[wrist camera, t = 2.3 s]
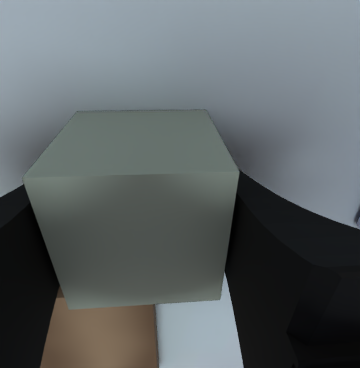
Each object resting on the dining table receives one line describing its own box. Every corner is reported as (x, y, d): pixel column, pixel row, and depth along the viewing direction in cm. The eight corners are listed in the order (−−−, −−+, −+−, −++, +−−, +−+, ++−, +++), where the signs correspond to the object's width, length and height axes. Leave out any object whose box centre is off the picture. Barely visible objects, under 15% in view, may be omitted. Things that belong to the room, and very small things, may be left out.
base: (152, 261, 15) (152, 292, 13) (159, 364, 21) (159, 394, 20) (-76, 273, 14) (-108, 308, 12) (2, 376, 20) (-12, 409, 19)
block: (205, 109, 11) (239, 171, 6) (199, 209, 13) (220, 300, 9) (77, 111, 10) (22, 177, 6) (97, 213, 13) (68, 309, 9)
